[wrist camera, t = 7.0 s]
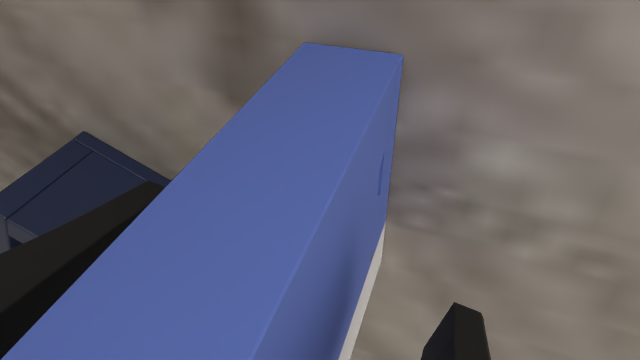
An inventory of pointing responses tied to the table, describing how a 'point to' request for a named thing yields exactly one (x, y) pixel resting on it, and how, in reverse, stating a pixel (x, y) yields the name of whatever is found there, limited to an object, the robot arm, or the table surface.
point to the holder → (67, 188)
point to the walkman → (251, 231)
